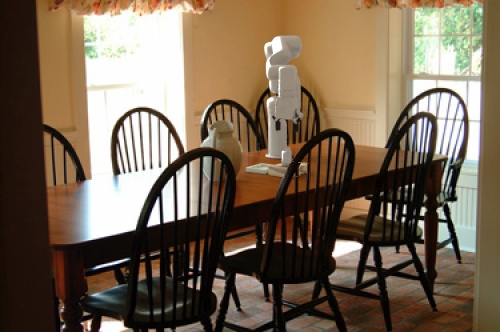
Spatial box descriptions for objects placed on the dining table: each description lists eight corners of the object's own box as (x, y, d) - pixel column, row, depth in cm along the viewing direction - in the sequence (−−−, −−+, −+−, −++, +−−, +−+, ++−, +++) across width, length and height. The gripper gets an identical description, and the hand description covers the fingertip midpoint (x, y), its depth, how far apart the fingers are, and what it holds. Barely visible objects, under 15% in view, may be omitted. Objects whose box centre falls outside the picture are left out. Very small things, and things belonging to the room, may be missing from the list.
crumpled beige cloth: (287, 169, 354) (287, 161, 353) (309, 172, 346) (309, 164, 346) (268, 175, 341) (268, 166, 340) (290, 178, 334) (290, 169, 333)
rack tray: (261, 167, 360) (261, 163, 359) (280, 169, 353) (280, 165, 353) (245, 171, 349) (245, 167, 349) (264, 174, 343) (264, 170, 342)
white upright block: (285, 173, 345) (285, 149, 343) (293, 174, 343) (293, 150, 340) (280, 174, 342) (280, 151, 340) (287, 175, 339) (288, 152, 337)
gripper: (266, 93, 337) (266, 130, 340) (298, 95, 327) (298, 133, 330) (275, 92, 343) (275, 129, 346) (307, 93, 333) (307, 131, 336)
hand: (286, 131), depth 338 cm, fingers open, 9 cm apart
